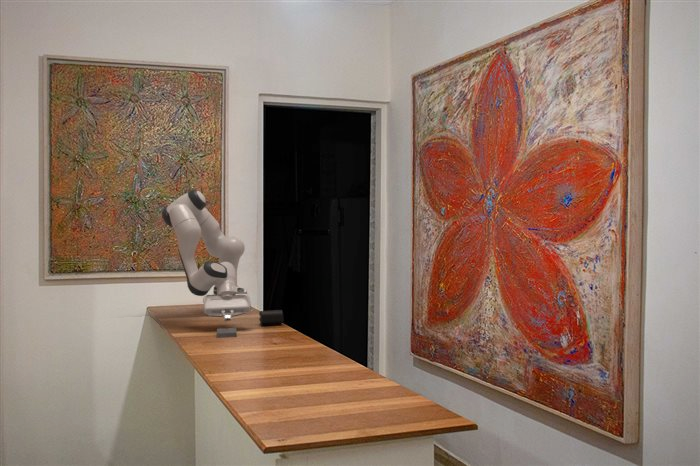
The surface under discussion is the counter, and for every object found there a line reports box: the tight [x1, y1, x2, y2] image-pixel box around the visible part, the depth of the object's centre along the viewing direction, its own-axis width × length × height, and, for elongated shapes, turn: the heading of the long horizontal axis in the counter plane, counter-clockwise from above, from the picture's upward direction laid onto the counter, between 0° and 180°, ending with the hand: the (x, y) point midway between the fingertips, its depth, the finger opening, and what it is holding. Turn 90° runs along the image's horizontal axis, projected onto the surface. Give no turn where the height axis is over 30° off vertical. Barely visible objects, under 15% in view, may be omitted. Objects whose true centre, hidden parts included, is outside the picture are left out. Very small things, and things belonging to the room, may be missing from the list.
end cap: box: [258, 309, 284, 327], centre depth 332 cm, size 10×7×7 cm
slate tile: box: [216, 327, 238, 339], centre depth 308 cm, size 2×8×12 cm
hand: (227, 319), depth 313 cm, fingers closed
